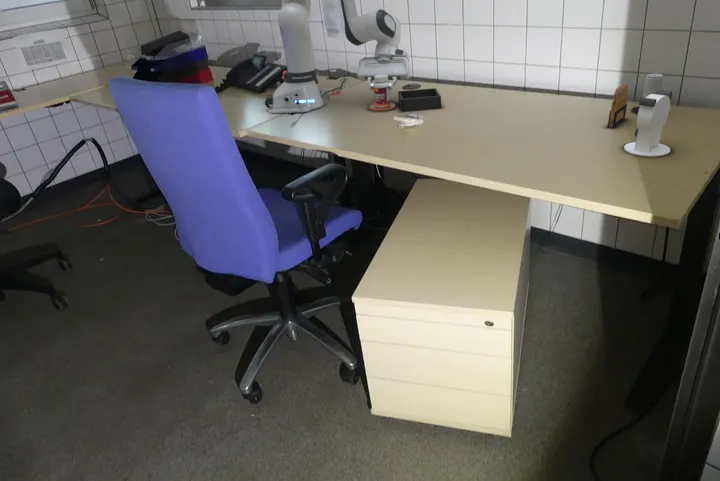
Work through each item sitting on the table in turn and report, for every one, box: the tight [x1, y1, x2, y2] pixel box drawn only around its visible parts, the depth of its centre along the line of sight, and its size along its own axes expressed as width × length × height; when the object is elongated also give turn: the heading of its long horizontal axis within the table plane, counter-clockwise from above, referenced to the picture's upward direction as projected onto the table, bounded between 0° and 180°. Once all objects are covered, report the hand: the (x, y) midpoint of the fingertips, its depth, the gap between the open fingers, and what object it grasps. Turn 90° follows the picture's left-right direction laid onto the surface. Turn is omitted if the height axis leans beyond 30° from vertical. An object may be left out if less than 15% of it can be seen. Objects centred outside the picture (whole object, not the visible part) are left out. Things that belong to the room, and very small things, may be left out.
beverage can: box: [642, 73, 664, 98], centre depth 176 cm, size 5×5×12 cm
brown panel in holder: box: [607, 81, 629, 129], centre depth 169 cm, size 11×2×12 cm, turn 140°
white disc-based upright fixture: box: [623, 89, 673, 158], centre depth 147 cm, size 12×11×15 cm
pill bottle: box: [372, 75, 391, 108], centre depth 206 cm, size 6×6×11 cm
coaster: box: [368, 102, 396, 113], centre depth 209 cm, size 10×10×1 cm
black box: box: [397, 87, 442, 112], centre depth 207 cm, size 15×13×4 cm
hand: (381, 88), depth 205 cm, fingers closed on pill bottle, 6 cm apart
